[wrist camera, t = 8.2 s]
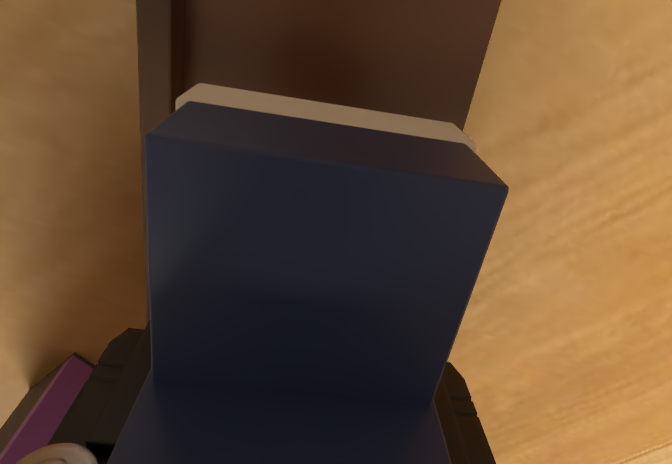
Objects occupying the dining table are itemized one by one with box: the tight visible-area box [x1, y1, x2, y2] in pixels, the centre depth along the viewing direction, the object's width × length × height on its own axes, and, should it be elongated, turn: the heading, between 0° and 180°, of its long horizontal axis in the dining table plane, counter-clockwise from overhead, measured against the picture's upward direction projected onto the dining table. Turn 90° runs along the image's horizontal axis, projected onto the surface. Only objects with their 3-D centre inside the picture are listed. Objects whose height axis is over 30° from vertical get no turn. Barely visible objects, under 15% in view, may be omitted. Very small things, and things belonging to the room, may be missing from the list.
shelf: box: [136, 0, 501, 324], centre depth 19 cm, size 20×11×6 cm, turn 171°
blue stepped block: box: [107, 83, 508, 464], centre depth 9 cm, size 12×5×5 cm, turn 171°
